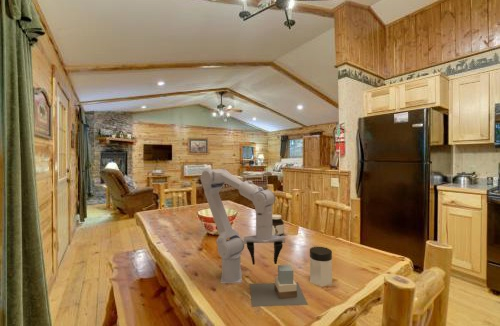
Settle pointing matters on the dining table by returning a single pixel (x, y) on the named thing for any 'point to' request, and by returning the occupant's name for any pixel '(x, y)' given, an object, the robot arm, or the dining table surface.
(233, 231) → the robot arm
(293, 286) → the cream slab
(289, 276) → the gray cube
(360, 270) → the dining table surface
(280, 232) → the spread jar
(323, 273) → the jar
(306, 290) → the dining table surface
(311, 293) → the dining table surface
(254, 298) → the felt mat
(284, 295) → the walnut slab
